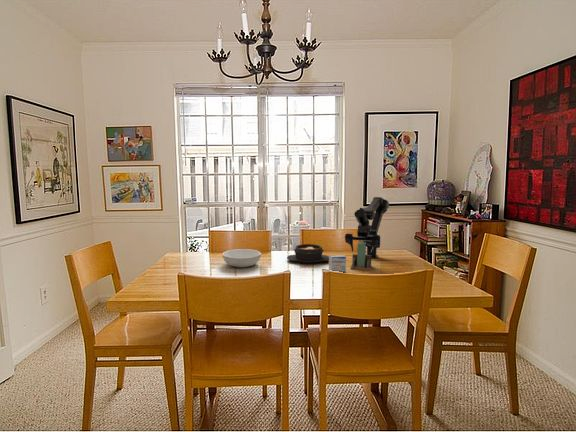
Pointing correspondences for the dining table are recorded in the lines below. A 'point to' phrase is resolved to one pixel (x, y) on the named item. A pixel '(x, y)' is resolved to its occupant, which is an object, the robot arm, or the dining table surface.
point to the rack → (367, 263)
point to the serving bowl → (241, 257)
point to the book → (361, 254)
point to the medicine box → (337, 263)
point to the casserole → (308, 254)
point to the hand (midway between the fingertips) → (361, 252)
